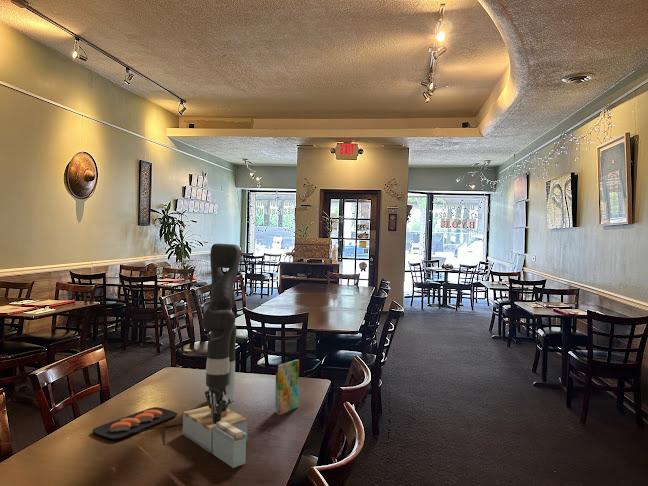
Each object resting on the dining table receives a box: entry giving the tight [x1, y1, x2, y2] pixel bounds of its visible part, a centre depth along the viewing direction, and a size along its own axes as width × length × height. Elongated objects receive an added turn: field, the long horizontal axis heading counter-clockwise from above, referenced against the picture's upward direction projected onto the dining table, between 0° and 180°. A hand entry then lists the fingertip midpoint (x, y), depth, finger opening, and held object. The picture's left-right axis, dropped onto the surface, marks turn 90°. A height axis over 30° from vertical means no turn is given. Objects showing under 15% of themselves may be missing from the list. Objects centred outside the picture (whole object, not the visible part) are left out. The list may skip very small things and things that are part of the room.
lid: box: [183, 395, 248, 432], centre depth 164 cm, size 20×14×8 cm
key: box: [216, 420, 243, 440], centre depth 149 cm, size 12×2×2 cm, turn 43°
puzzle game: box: [274, 359, 300, 416], centre depth 193 cm, size 12×5×20 cm, turn 144°
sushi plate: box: [92, 406, 183, 446], centre depth 171 cm, size 29×30×4 cm
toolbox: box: [182, 414, 249, 469], centre depth 160 cm, size 33×14×9 cm, turn 43°
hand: (216, 423), depth 154 cm, fingers closed
